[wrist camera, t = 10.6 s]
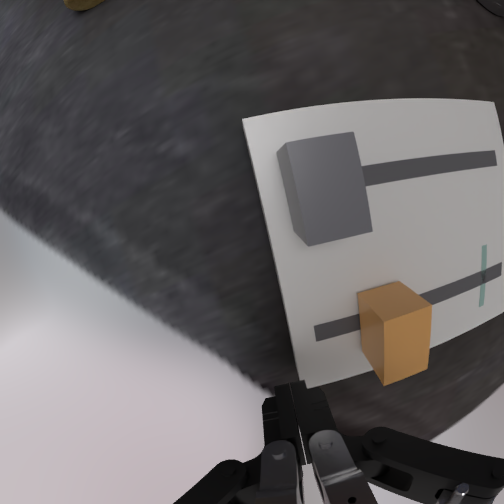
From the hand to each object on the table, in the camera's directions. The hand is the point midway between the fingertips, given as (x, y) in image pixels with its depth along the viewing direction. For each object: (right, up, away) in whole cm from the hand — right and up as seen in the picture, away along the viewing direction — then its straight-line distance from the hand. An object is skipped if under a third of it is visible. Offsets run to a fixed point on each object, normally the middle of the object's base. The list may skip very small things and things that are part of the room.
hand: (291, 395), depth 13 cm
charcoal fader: (+1, +11, +3) cm, 11 cm away
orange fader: (+6, +3, +4) cm, 8 cm away
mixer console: (+9, +9, +6) cm, 14 cm away
